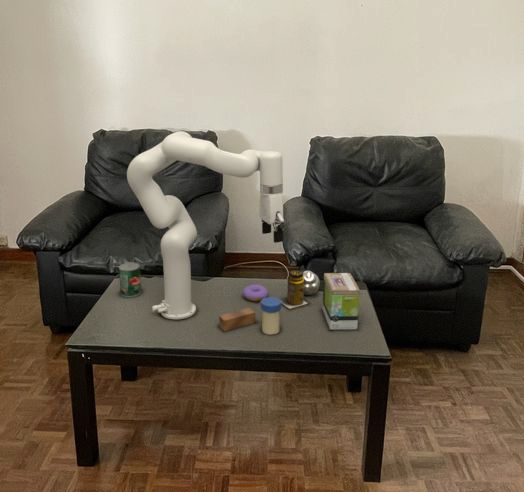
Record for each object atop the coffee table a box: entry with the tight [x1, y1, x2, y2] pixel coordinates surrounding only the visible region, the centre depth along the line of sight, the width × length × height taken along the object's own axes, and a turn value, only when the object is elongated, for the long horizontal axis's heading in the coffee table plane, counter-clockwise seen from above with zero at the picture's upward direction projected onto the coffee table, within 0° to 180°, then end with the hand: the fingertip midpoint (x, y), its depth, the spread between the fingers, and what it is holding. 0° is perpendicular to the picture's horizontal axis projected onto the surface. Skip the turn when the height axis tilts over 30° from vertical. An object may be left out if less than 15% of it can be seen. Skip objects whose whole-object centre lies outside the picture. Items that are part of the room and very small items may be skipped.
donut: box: [242, 284, 269, 302], centre depth 210 cm, size 10×9×5 cm
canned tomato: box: [118, 261, 142, 298], centre depth 213 cm, size 8×8×11 cm
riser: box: [218, 307, 256, 332], centre depth 189 cm, size 12×4×4 cm, turn 121°
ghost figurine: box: [302, 270, 321, 296], centre depth 212 cm, size 9×10×10 cm
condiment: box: [280, 269, 308, 310], centre depth 205 cm, size 7×8×12 cm
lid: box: [260, 296, 282, 313], centre depth 184 cm, size 7×7×2 cm
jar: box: [261, 309, 281, 335], centre depth 185 cm, size 6×6×10 cm
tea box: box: [322, 272, 361, 331], centre depth 192 cm, size 15×10×15 cm, turn 4°
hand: (272, 237), depth 186 cm, fingers open, 9 cm apart
